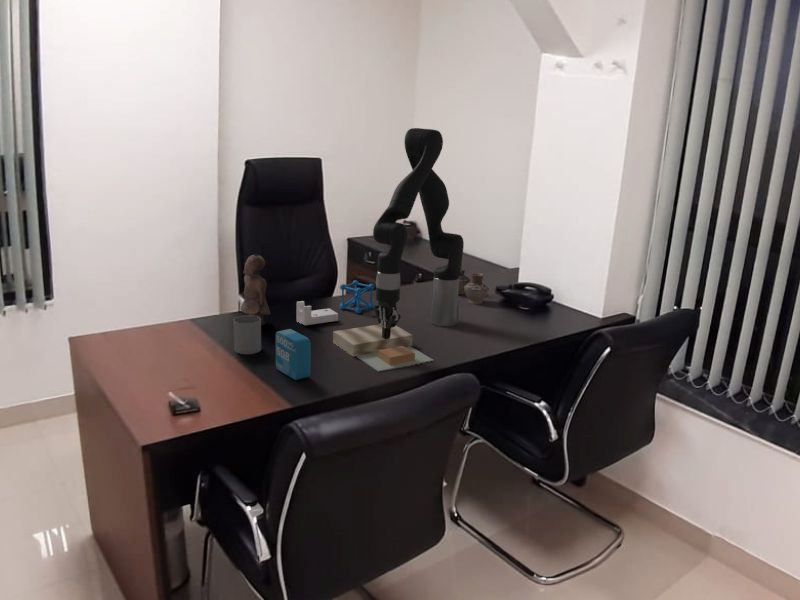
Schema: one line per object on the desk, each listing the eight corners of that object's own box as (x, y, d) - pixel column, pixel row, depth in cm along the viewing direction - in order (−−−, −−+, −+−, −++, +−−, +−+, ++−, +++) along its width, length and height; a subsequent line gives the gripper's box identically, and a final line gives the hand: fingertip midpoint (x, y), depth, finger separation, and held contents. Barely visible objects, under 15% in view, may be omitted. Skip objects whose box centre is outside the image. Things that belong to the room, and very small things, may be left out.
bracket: (304, 327, 240) (304, 307, 238) (296, 322, 246) (296, 301, 244) (337, 323, 246) (338, 303, 244) (329, 317, 252) (329, 297, 250)
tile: (414, 352, 212) (414, 360, 213) (402, 345, 218) (402, 353, 218) (390, 357, 207) (389, 365, 208) (378, 350, 213) (378, 357, 214)
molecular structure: (338, 309, 262) (338, 284, 259) (354, 303, 270) (355, 279, 267) (358, 314, 256) (359, 289, 253) (374, 308, 264) (375, 283, 261)
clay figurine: (234, 322, 242) (232, 252, 234) (259, 317, 248) (258, 249, 241) (253, 332, 232) (251, 260, 225) (278, 326, 239) (277, 256, 232)
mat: (410, 347, 225) (410, 346, 225) (433, 361, 214) (433, 360, 214) (356, 356, 215) (356, 355, 214) (378, 371, 204) (378, 370, 204)
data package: (275, 368, 203) (275, 330, 199) (288, 365, 206) (288, 327, 202) (297, 381, 194) (297, 342, 191) (310, 378, 197) (311, 339, 194)
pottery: (471, 307, 272) (473, 278, 269) (437, 291, 293) (439, 264, 289) (494, 304, 277) (496, 275, 274) (459, 288, 298) (461, 262, 295)
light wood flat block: (390, 333, 237) (390, 322, 236) (412, 346, 226) (412, 335, 225) (333, 342, 226) (333, 331, 225) (353, 356, 214) (353, 344, 213)
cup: (237, 355, 211) (237, 324, 208) (231, 346, 218) (230, 317, 215) (264, 352, 215) (264, 321, 212) (257, 343, 222) (256, 314, 219)
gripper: (409, 289, 209) (407, 343, 214) (387, 279, 220) (385, 330, 225) (388, 292, 205) (386, 346, 210) (367, 281, 216) (365, 333, 221)
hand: (385, 338), depth 217 cm, fingers closed
